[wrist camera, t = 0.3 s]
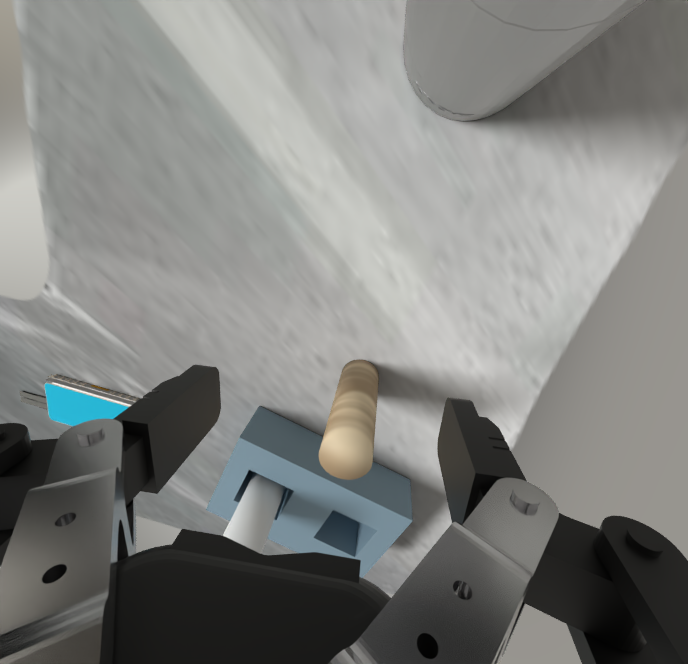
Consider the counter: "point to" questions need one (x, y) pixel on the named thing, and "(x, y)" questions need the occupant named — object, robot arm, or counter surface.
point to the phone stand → (78, 401)
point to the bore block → (306, 496)
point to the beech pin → (351, 423)
